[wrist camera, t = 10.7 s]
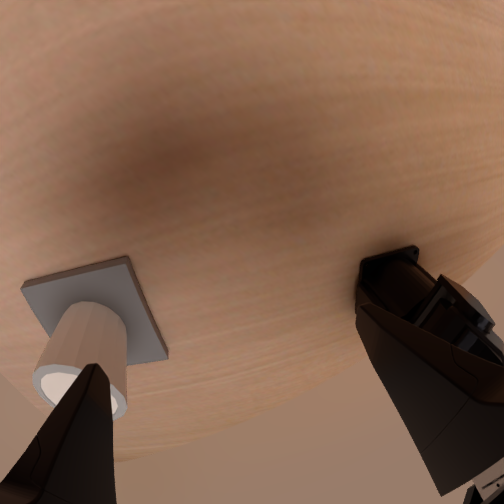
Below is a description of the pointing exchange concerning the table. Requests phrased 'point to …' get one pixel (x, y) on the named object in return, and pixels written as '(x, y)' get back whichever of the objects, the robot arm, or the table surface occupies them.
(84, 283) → the slate plate
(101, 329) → the white cup
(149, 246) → the table surface
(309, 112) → the table surface
